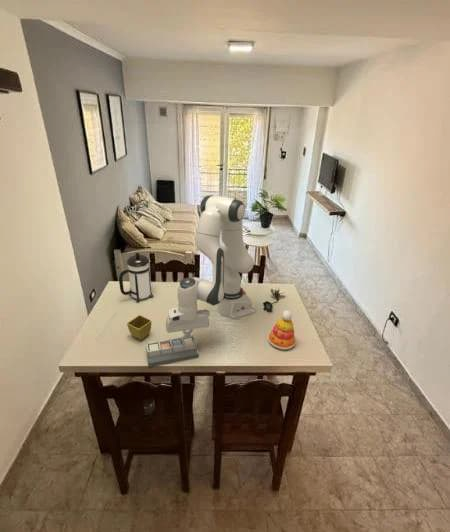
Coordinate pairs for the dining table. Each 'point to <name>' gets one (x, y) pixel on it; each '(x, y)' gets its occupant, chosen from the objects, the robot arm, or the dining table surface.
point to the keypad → (171, 352)
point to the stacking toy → (283, 332)
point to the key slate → (176, 342)
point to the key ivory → (188, 341)
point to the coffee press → (137, 277)
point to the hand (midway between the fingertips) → (187, 335)
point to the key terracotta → (165, 345)
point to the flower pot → (139, 327)
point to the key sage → (153, 347)
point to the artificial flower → (268, 305)
